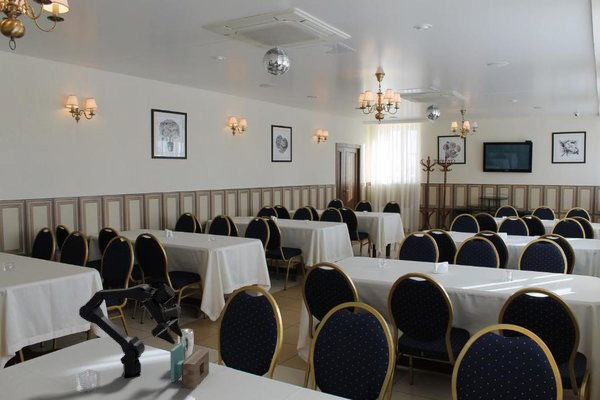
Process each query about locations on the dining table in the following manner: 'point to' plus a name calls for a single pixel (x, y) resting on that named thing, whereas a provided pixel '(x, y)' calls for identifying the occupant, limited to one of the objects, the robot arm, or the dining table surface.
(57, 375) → the dining table surface
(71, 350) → the dining table surface
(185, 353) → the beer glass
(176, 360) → the teal fan slab
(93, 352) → the dining table surface
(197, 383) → the block
